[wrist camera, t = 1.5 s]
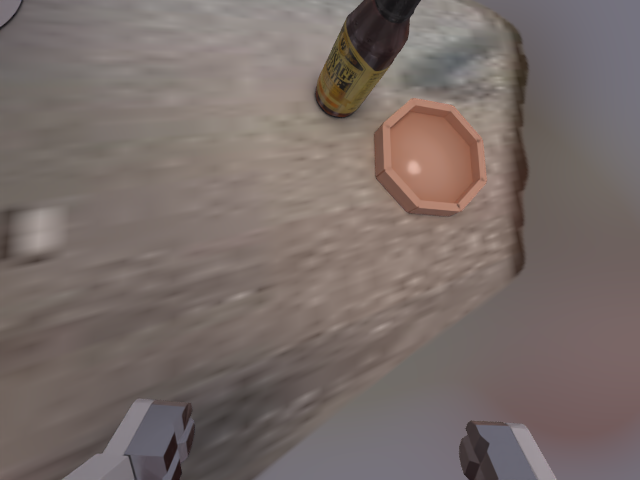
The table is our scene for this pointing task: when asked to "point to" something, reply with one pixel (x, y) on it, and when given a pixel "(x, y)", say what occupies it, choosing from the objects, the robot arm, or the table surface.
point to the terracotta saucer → (429, 158)
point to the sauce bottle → (363, 53)
